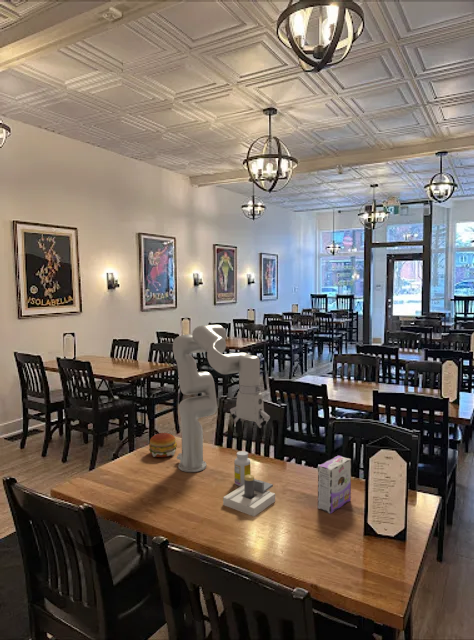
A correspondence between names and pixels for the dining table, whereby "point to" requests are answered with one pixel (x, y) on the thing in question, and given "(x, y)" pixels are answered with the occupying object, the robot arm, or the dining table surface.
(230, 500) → the socket
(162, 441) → the burger
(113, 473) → the dining table surface
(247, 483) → the plug
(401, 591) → the dining table surface
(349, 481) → the candy box
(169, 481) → the dining table surface
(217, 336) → the robot arm
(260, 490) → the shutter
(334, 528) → the dining table surface
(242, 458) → the supplement bottle
